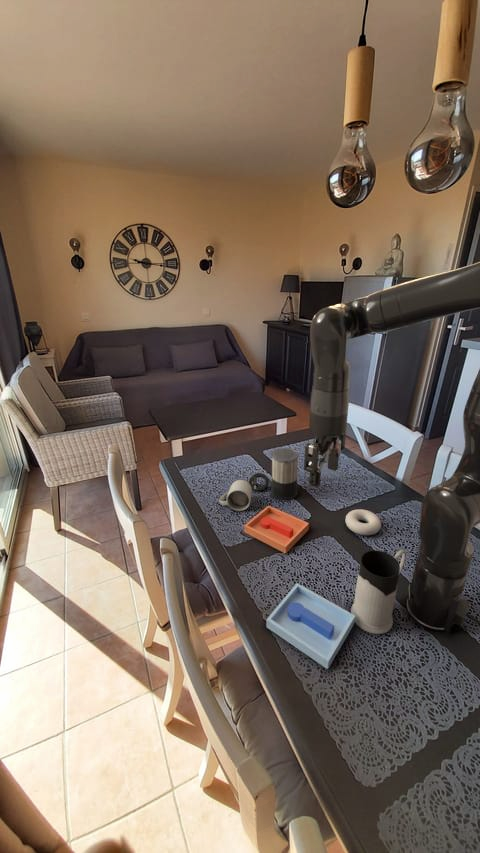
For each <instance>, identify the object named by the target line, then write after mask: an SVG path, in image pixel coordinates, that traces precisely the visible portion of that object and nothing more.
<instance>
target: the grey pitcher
mask: <svg viewBox="0 0 480 853" xmlns="http://www.w3.org/2000/svg"><path fill="white" fill-rule="evenodd" d="M400 556H401V560H400V563H399V561H398V558H399V557H400ZM406 557H407V552H406V551H405V550H403V549H399V550H398V551H397V552H396V553H395V555H394V556H392V555H391V554H390V553H388V552H385V551H381V550H375V549H374V550H368V551H365V552H364V553H362V555H361V556H360V562H359V570H358V572H357V579H356V585H355V594H354V600H353V604H352V605H351V607H350V613H351V614H353V615H355V623H354V624H356V625H357V626H358V627H359V628H360V629H362V630H363V631H365V632H367V633H370V634H373V635H382V634H385V633H387V632H389V631H390V630H391V629H392V628H393V624H394V618H393V611H394V608H395V601H396V597H397V592H398V581H399V577H400V575H401V572H402V570H403V567H404V565H405V560H406Z"/></svg>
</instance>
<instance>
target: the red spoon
mask: <svg viewBox="0 0 480 853" xmlns="http://www.w3.org/2000/svg"><path fill="white" fill-rule="evenodd" d="M261 526H262V527H263V528H265V529H272V530H274V531H276V532H278V533H280V534H282V535H284V536H286V537H288V538H290V537H291V536H292V535H293V529H294V528H291V527H289V526H287V525H285V524H283V523H281V522H279V521H276V520H274V519H272V518H270V517H264V518H262V519H261Z"/></svg>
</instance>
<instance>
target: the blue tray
mask: <svg viewBox="0 0 480 853" xmlns="http://www.w3.org/2000/svg"><path fill="white" fill-rule="evenodd" d="M294 602H297V603H300V604H302V605H303V606H304V608H306V609H308V610H310V611H311V612H313V613H314V614H316V615H318V616H319V617H321V618H323V619H324V620H326V621H328V622H329V623H331V624H333V625H334V633H333V635H332V637H331V638H330V640H329V639H327V638H326V637H324V636H323V635H321V634H320V633H318V632H316V631H315V630H313V629H312V628H310V627H309V626H307V625H306V624H304V623H302V622H301V621H299V622H296V621H293V620H291V619H290V618H289V616H288V606H289V605H290V604H291V603H294ZM355 624H356V623H355V615H353V614H351V612H349V611H348V610H346V609H344V608H343V607H340V606H339V605H337V604H335V603H334V602H332V601H331V600H329V599H326V598H324V597H323V596H322V595H320V594H317V593H316V592H315V591H312V590H311V589H309V588H307V587H305V586H304V585H302V584H301V583H298V582H297V583H295V585H294V586H292V588H291V590H289V592H288V593H287V594H286V596H284V598H283V599H282V600H281V602H280V603H279V604H278V605H277V606H276V608H275V609H274V610H273V611H272V612H271V613H270V615H268V617H267V618H266V628H267V629H269V630H270V631H271V632H273V633H274V634H276V635H277V636H279V637H280V638H281V639H283V640H284V641H286V642H287V643H289V645H292V646H293V647H295V648H296V649H297V650H299V651H300V652H301V653H303V654H305V656H307V657H309V658H311V659H312V660H314V661H315V662H316V663H318V664H319V665H320V666H322V667H323V668H325V669H326V670H329V669H330V666H331V665H332V663H333V661H334V660H335V658H336V656H337V654H338V653H339V651H340V649H341V648H342V646H343V644H344V642H345V641H346V639H347V638H348V636H349V634H350V632H351V630H352V629H353V627H354V625H355Z"/></svg>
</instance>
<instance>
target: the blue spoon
mask: <svg viewBox="0 0 480 853" xmlns="http://www.w3.org/2000/svg"><path fill="white" fill-rule="evenodd" d="M288 616H289V618H290V619H291V620H293V621H296V622H299V621H301V622H302V623H304V624H306V625H307V626H309V627H310V628H312V629H313V630H315V631H316V632H318V633H320V634H321V635H323V636H324V637H326V638H327V639H329V640H330V638H331V637H332V635H333V633H334V625H333V624H331V623H329V622H328V621H326V620H324V619H323V618H321V617H319V616H318V615H316V614H314V613H313V612H311V611H310V610H308V609H306V608H304V606H303V605H302V604H300V603H297V602H294V603H291V604H290V605H289V606H288Z"/></svg>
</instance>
